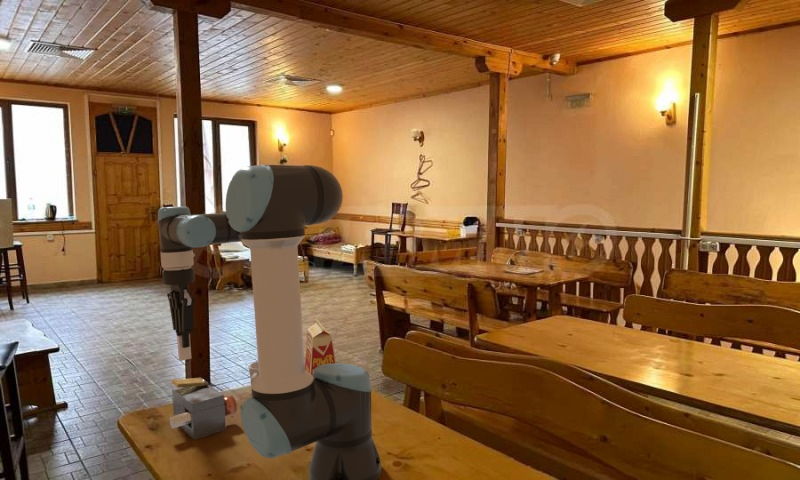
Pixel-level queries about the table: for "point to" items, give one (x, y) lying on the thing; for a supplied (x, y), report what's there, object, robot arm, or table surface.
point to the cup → (253, 371)
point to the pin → (186, 417)
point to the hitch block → (200, 409)
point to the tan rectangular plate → (189, 382)
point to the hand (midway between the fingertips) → (185, 358)
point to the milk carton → (318, 348)
